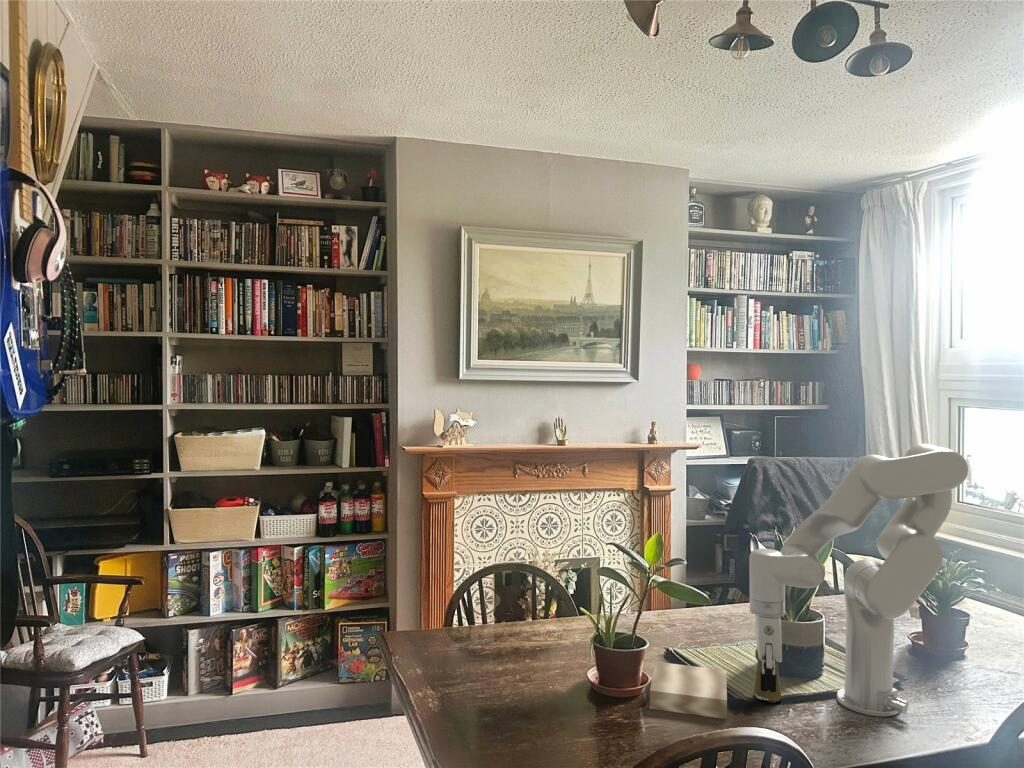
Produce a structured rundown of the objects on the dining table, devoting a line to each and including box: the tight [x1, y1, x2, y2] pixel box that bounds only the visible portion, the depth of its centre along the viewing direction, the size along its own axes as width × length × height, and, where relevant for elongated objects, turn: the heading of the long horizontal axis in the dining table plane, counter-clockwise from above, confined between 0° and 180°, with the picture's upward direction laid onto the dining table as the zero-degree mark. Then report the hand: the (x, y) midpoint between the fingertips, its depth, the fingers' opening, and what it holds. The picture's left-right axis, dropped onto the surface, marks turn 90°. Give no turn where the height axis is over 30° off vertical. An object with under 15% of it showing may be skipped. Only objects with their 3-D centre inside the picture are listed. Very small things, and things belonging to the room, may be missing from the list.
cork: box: [753, 646, 782, 703], centre depth 163 cm, size 6×6×11 cm
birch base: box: [649, 661, 728, 720], centre depth 163 cm, size 16×16×4 cm
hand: (767, 685), depth 163 cm, fingers closed on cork, 4 cm apart
